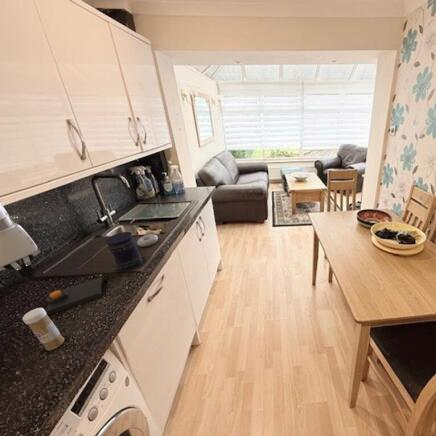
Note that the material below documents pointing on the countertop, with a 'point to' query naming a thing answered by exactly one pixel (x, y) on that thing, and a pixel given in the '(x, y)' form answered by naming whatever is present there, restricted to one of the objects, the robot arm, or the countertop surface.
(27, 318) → the sprinkles bottle
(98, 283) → the scale
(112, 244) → the storage jar
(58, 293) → the tare button
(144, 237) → the donut
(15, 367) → the countertop surface
